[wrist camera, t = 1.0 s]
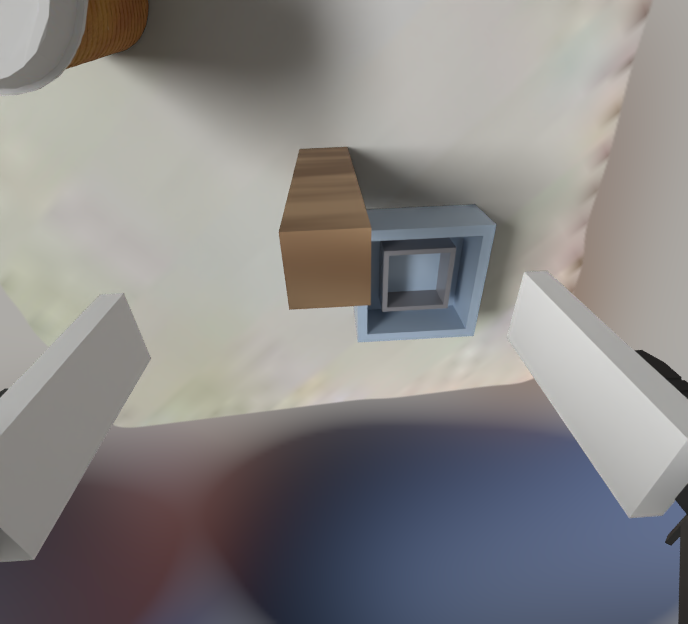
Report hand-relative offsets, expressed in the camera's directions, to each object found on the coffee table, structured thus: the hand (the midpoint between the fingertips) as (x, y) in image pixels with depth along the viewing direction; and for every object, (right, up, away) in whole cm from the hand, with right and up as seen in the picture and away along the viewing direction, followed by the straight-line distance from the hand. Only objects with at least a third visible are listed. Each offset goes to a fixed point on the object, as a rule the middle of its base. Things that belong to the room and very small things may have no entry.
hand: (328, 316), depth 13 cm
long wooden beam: (-1, +11, +16) cm, 19 cm away
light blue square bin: (+6, +4, +20) cm, 22 cm away
